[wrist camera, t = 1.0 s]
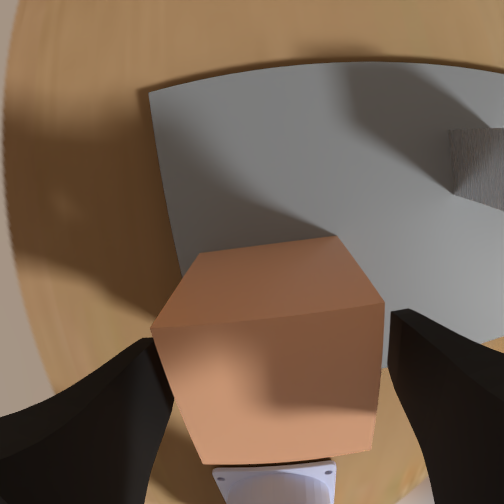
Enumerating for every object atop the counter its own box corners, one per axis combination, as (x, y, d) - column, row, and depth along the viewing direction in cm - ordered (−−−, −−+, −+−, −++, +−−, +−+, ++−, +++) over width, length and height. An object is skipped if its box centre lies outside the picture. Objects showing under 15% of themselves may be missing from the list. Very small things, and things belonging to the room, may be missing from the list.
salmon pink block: (342, 351, 13) (370, 449, 8) (224, 364, 14) (202, 464, 8) (336, 235, 12) (385, 302, 6) (199, 253, 12) (150, 328, 7)
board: (513, 321, 14) (522, 329, 13) (214, 375, 15) (211, 388, 14) (517, 81, 10) (529, 79, 9) (157, 96, 12) (148, 92, 11)
